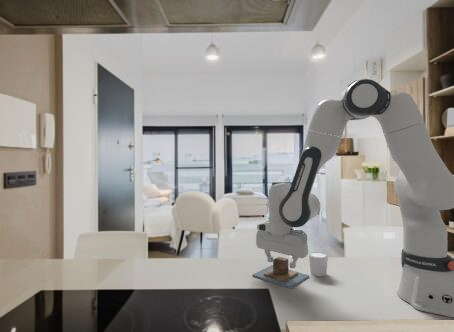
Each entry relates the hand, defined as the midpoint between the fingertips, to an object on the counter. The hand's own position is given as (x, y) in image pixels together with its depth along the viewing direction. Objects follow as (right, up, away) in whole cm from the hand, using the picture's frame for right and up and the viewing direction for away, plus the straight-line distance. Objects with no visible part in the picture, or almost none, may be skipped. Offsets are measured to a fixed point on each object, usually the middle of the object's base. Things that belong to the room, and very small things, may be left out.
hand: (281, 264), depth 106 cm
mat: (0, -4, 0) cm, 4 cm away
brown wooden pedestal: (0, -4, 0) cm, 4 cm away
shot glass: (+14, -4, +3) cm, 15 cm away
